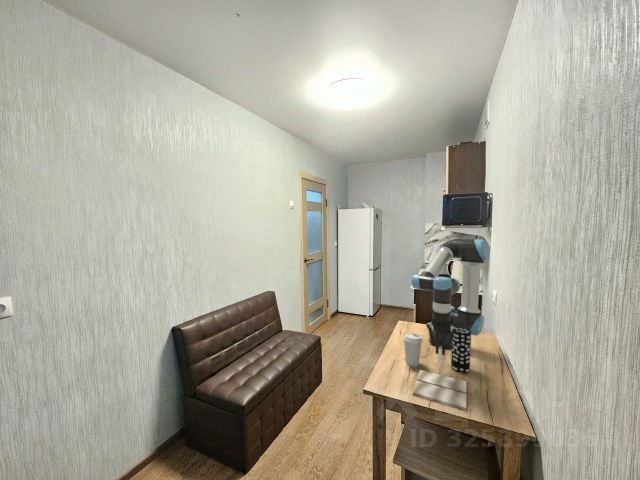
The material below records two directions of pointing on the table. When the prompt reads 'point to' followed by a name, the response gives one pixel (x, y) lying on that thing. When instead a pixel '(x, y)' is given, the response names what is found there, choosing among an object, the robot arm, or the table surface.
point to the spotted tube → (461, 350)
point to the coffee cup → (412, 348)
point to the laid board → (440, 395)
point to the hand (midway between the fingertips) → (440, 360)
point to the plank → (442, 381)
